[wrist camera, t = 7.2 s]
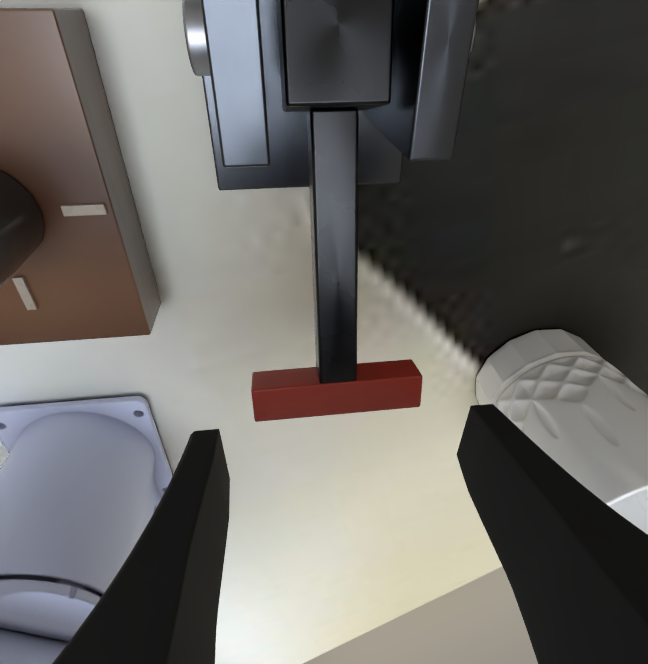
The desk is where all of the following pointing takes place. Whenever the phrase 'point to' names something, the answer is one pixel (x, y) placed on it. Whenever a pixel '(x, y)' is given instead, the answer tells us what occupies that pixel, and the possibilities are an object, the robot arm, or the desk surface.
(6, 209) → the dial
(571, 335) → the white cup
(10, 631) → the robot arm
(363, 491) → the desk surface
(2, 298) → the console
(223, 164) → the bracket
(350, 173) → the lever
